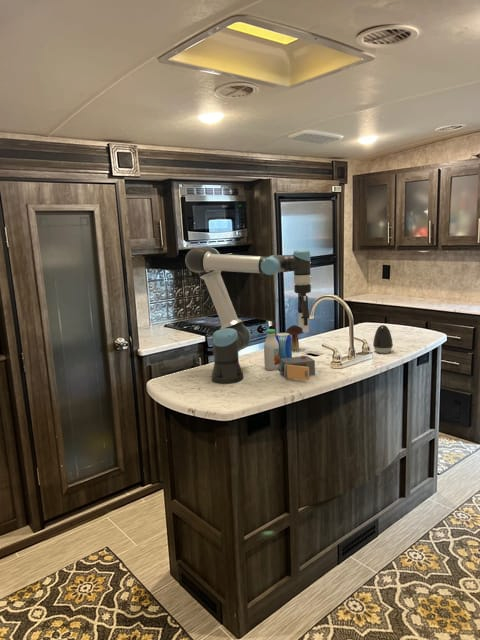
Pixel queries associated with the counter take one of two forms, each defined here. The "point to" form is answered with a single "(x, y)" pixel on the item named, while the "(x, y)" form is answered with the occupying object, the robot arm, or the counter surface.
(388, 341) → the egg shaped speaker
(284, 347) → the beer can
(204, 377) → the counter surface
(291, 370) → the side door
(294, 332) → the decorative mushroom
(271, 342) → the milk bottle
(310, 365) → the camera body
